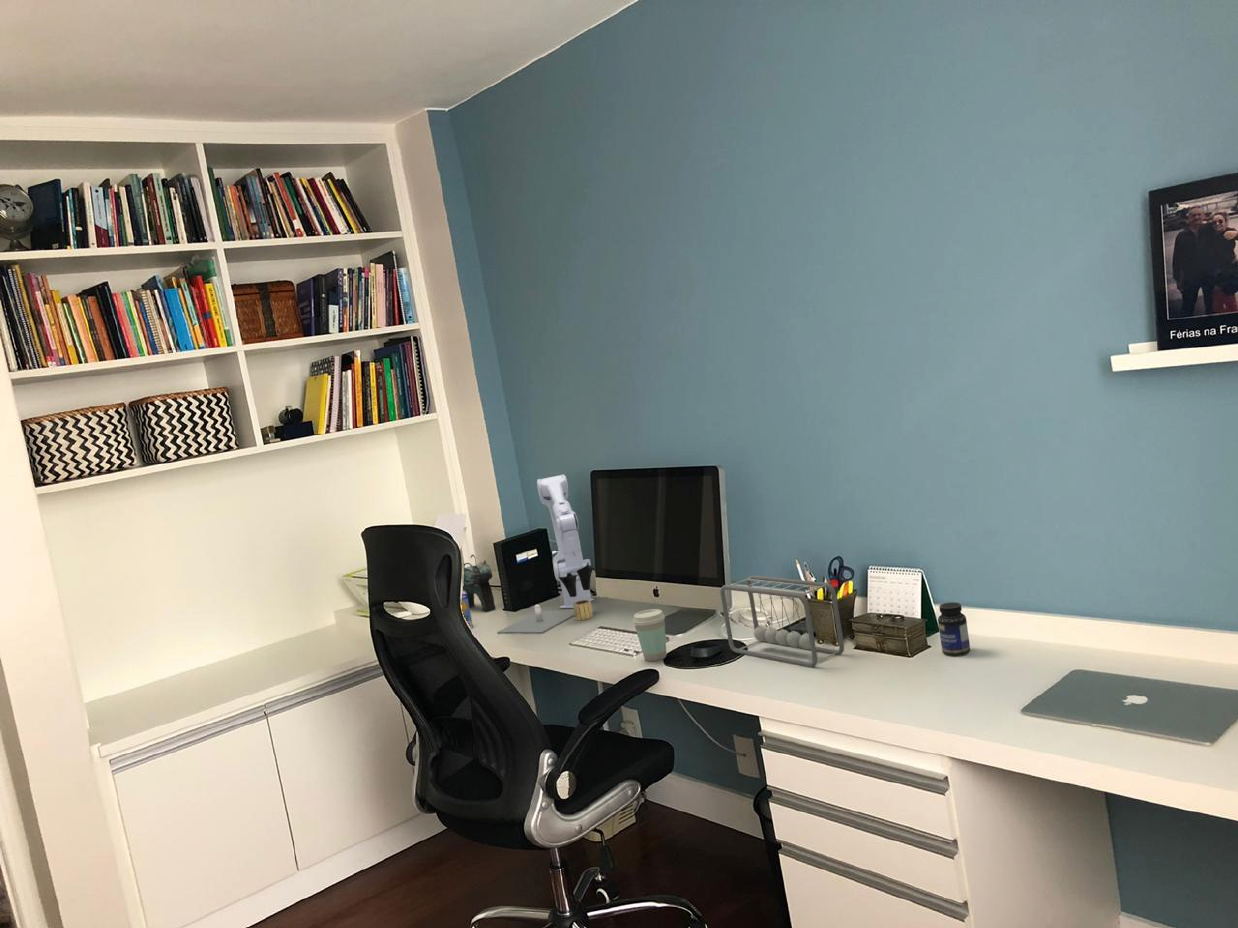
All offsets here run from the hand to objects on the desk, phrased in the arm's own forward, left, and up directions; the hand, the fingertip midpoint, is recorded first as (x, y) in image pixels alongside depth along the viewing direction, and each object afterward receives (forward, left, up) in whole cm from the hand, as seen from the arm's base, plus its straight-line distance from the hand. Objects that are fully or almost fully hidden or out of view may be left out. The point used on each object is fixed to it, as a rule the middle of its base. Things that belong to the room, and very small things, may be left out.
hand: (580, 593), depth 315 cm
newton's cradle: (+32, +82, -8) cm, 88 cm away
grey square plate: (+5, -14, -8) cm, 17 cm away
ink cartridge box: (+12, -43, -8) cm, 45 cm away
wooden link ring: (0, 0, -8) cm, 8 cm away
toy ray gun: (-12, -54, -8) cm, 56 cm away
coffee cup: (+36, +47, -8) cm, 60 cm away
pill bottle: (+30, +123, -8) cm, 127 cm away
